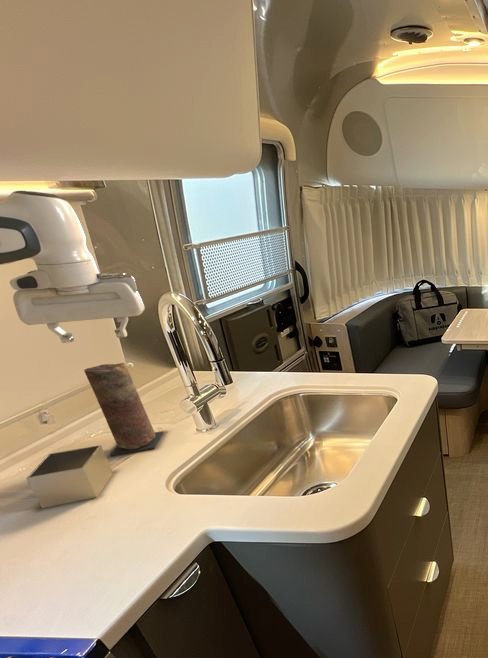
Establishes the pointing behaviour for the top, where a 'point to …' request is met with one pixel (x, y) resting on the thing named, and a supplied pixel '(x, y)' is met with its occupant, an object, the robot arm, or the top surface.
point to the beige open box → (70, 476)
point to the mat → (150, 445)
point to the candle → (121, 405)
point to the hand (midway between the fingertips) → (95, 339)
